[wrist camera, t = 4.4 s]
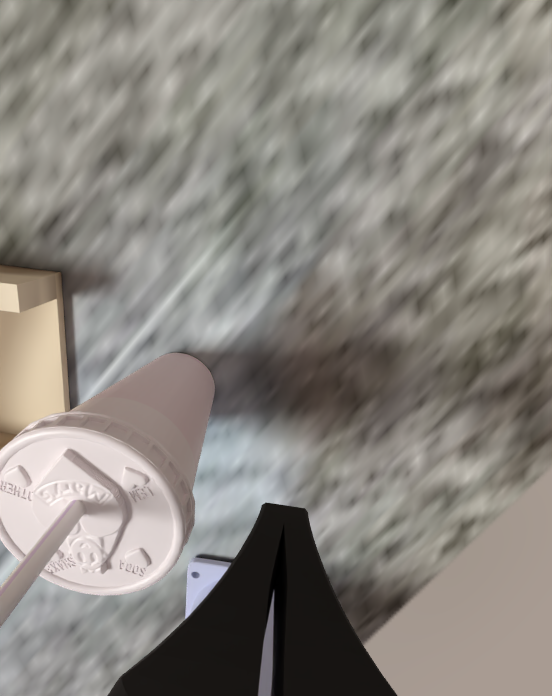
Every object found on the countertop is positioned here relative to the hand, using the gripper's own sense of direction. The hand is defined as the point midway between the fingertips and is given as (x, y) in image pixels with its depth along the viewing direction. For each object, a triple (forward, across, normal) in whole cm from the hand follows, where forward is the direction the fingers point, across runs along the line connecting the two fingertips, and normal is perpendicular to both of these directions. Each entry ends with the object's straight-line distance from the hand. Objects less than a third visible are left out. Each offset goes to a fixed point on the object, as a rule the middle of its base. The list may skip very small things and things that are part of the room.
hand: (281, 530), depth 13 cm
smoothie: (+9, +6, 0) cm, 11 cm away
